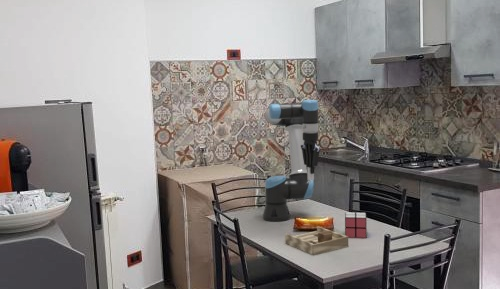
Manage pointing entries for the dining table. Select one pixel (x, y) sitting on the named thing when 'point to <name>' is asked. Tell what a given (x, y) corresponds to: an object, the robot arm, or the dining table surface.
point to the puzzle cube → (355, 225)
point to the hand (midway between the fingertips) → (310, 179)
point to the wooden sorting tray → (310, 241)
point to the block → (324, 236)
